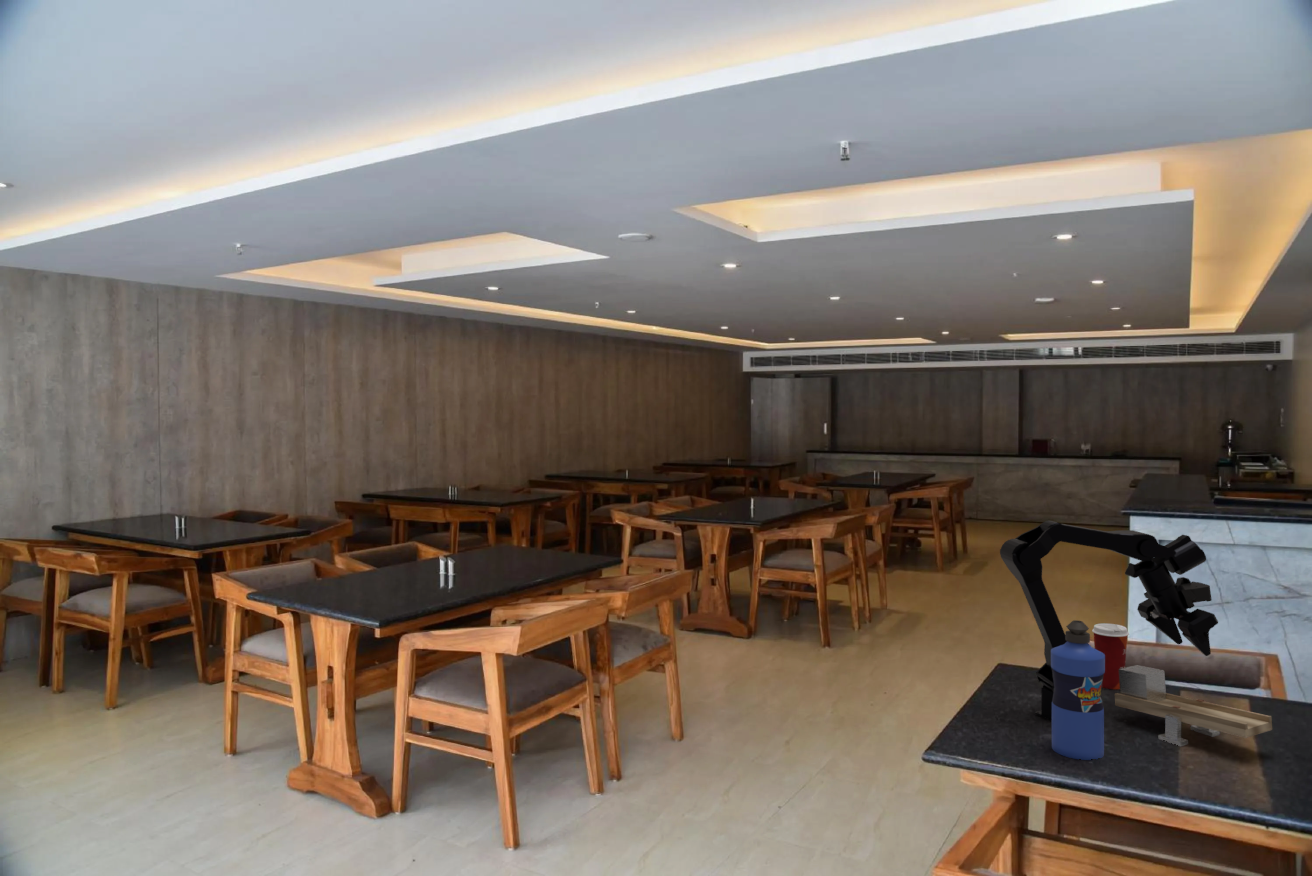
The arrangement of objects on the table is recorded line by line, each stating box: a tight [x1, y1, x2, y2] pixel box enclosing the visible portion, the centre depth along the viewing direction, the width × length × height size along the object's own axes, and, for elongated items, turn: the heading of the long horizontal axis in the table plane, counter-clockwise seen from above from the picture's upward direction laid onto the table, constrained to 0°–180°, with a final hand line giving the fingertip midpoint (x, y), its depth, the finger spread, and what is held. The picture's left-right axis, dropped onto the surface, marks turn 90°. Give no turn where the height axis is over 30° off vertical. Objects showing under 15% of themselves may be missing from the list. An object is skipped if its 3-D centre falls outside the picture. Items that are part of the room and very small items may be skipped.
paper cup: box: [1091, 622, 1130, 690], centre depth 204 cm, size 8×8×14 cm
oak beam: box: [1114, 692, 1273, 739], centre depth 172 cm, size 8×26×4 cm, turn 27°
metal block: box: [1119, 664, 1167, 702], centre depth 181 cm, size 6×6×6 cm
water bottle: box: [1051, 619, 1105, 761], centre depth 166 cm, size 9×9×25 cm
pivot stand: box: [1157, 714, 1221, 747], centre depth 172 cm, size 13×4×5 cm, turn 117°
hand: (1193, 649), depth 184 cm, fingers open, 9 cm apart
